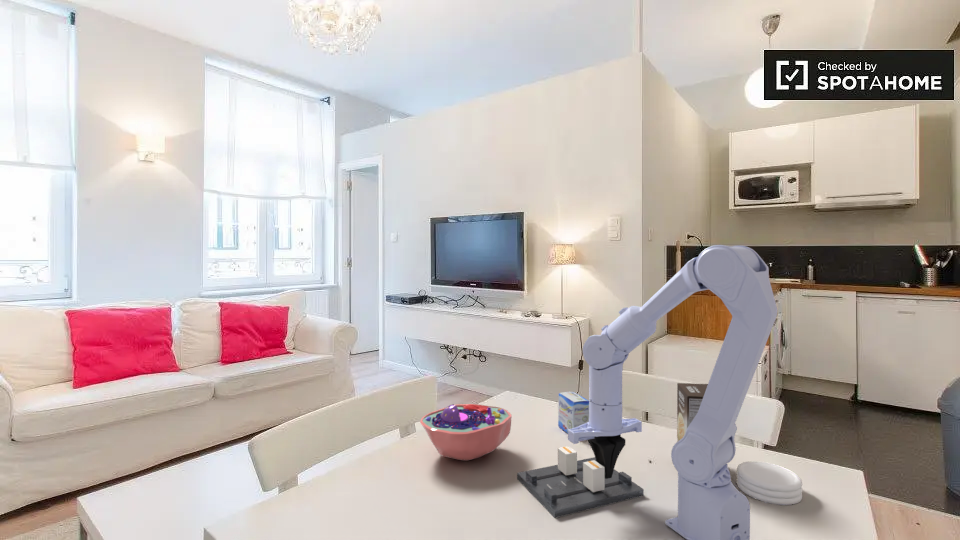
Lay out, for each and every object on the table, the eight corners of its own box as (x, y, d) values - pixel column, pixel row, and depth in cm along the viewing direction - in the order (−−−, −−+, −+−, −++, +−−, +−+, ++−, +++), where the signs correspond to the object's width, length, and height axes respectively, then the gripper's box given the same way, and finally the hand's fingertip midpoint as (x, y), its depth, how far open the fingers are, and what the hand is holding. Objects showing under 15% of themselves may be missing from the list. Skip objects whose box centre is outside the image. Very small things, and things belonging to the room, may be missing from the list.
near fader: (604, 489, 80) (604, 466, 80) (593, 492, 79) (593, 469, 79) (594, 481, 83) (594, 459, 83) (583, 484, 82) (583, 461, 82)
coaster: (797, 485, 85) (797, 466, 84) (807, 512, 76) (807, 491, 75) (735, 473, 89) (735, 456, 89) (737, 498, 80) (738, 478, 80)
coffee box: (675, 457, 96) (676, 381, 95) (708, 460, 95) (709, 383, 94) (686, 478, 87) (686, 395, 86) (722, 481, 86) (723, 396, 85)
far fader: (577, 473, 86) (577, 451, 86) (566, 475, 85) (566, 453, 85) (568, 466, 89) (568, 445, 89) (557, 468, 88) (557, 447, 88)
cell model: (527, 460, 95) (527, 407, 95) (437, 481, 87) (436, 422, 86) (491, 432, 110) (491, 386, 110) (411, 448, 102) (410, 398, 101)
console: (643, 495, 81) (643, 482, 81) (555, 517, 74) (554, 503, 74) (596, 462, 94) (596, 451, 94) (517, 479, 87) (517, 466, 87)
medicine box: (557, 427, 114) (557, 392, 113) (573, 424, 115) (573, 390, 115) (573, 439, 106) (573, 402, 106) (590, 436, 107) (590, 400, 107)
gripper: (624, 390, 88) (624, 459, 88) (558, 399, 83) (558, 473, 83) (650, 400, 81) (649, 476, 82) (580, 411, 76) (580, 491, 77)
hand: (605, 475), depth 82 cm, fingers closed
